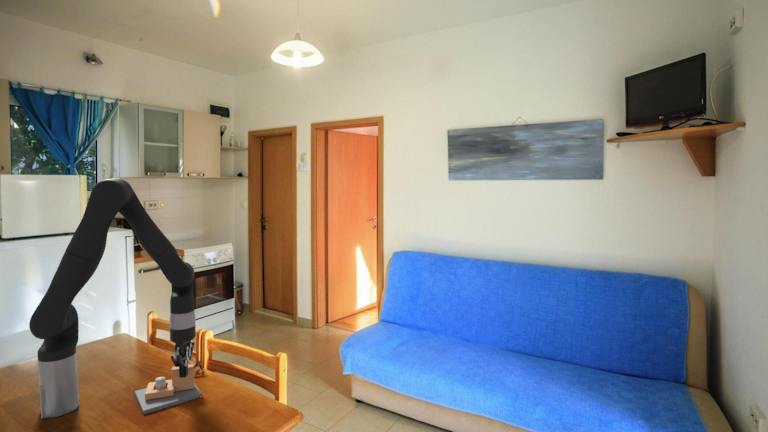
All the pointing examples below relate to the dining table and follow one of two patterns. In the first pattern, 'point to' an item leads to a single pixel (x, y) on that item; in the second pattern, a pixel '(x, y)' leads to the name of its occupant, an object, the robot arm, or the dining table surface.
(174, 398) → the post base
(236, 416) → the dining table surface
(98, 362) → the dining table surface
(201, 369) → the wooden post with brackets
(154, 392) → the peach open lidded box
